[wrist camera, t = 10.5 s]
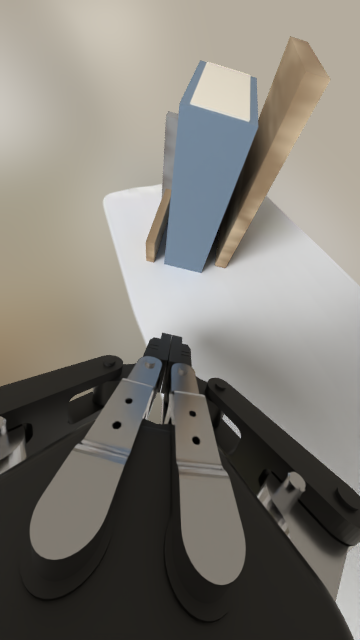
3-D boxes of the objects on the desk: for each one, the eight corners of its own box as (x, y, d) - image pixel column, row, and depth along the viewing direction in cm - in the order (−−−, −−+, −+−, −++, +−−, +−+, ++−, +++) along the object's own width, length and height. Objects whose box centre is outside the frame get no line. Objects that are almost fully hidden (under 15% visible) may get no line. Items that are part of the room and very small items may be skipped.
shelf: (229, 221, 29) (307, 42, 14) (224, 279, 24) (337, 91, 9) (162, 203, 28) (175, -3, 14) (142, 259, 23) (128, 24, 9)
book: (208, 223, 28) (257, 76, 15) (201, 272, 24) (259, 124, 11) (177, 215, 28) (200, 58, 15) (164, 263, 23) (180, 100, 11)
